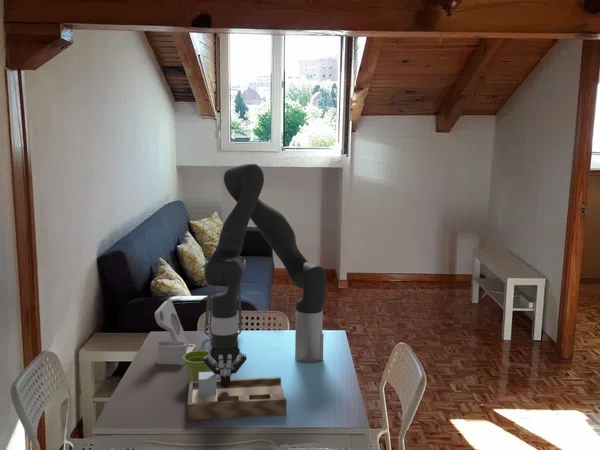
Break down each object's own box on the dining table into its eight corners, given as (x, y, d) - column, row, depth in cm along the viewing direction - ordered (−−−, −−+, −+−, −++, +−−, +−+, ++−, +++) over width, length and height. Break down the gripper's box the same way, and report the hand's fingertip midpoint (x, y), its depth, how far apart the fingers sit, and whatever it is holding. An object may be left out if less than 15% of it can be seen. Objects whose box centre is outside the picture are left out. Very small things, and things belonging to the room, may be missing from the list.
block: (216, 387, 179) (216, 371, 179) (216, 394, 175) (216, 378, 174) (199, 388, 179) (198, 372, 178) (198, 395, 174) (198, 379, 173)
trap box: (280, 391, 184) (280, 377, 184) (286, 414, 170) (286, 399, 169) (189, 395, 181) (189, 381, 180) (187, 420, 166) (187, 404, 165)
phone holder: (184, 365, 203) (183, 313, 200) (154, 364, 204) (153, 312, 200) (196, 346, 220) (195, 298, 217) (168, 345, 221) (167, 297, 218)
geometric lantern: (203, 333, 233) (204, 243, 227) (244, 334, 234) (246, 244, 229) (200, 348, 217) (201, 252, 212) (244, 348, 219) (247, 253, 213)
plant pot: (219, 378, 193) (219, 352, 191) (205, 391, 184) (204, 363, 182) (193, 374, 196) (192, 348, 194) (178, 386, 187) (177, 359, 185)
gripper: (246, 324, 179) (247, 380, 182) (201, 326, 177) (202, 382, 180) (248, 333, 171) (249, 391, 174) (201, 335, 170) (202, 393, 173)
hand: (225, 386), depth 177 cm, fingers closed
